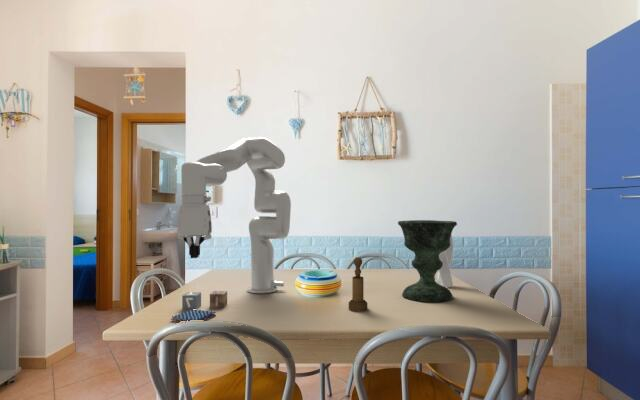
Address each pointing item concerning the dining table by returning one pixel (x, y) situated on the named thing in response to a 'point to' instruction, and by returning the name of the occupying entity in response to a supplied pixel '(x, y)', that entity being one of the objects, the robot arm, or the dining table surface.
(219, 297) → the walnut number block
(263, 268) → the robot arm
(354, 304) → the brown tall piece
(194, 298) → the charcoal number block
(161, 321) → the dining table surface
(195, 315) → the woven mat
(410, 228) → the goblet
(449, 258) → the skyscraper
